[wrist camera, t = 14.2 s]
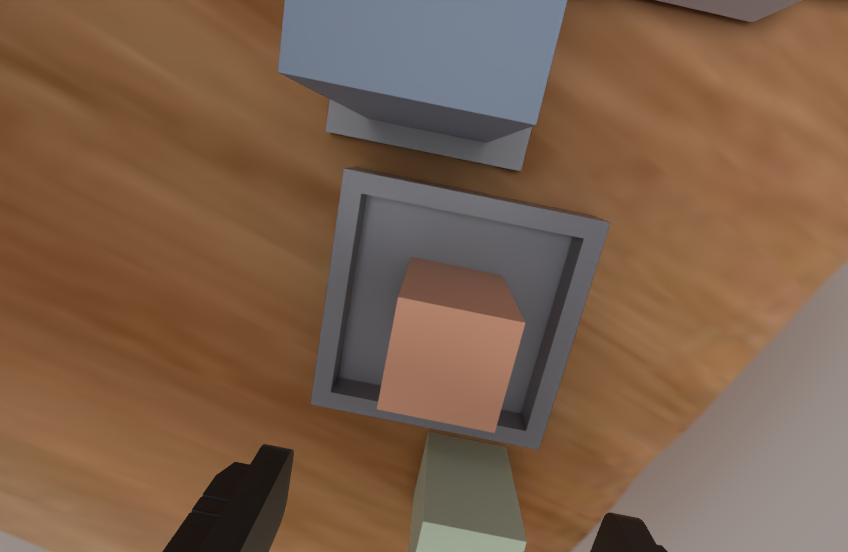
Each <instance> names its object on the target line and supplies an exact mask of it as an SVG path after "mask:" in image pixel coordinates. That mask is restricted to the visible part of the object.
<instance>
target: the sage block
mask: <svg viewBox="0 0 848 552" xmlns="http://www.w3.org/2000/svg"><path fill="white" fill-rule="evenodd" d="M526 543H527V540H526V536H525V531H524V526H523V522H522V517H521V512H520V508H519V503H518V498H517V494H516V489H515V484H514V480H513V475H512V470H511V466H510V461H509V456H508V452H507V447H504V446H499V445H494V444H489V443H484V442H479V441H474V440H469V439H464V438H459V437H454V436H449V435H444V434H439V433H434V432H429V431H428V436H427V440H426V444H425V449H424V453H423V457H422V462H421V466H420V470H419V475H418V479H417V483H416V488H415V492H414V497H413V507H412V518H411V529H410V540H409V551H408V552H524V549H525V546H526Z"/></svg>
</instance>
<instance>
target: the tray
mask: <svg viewBox="0 0 848 552" xmlns="http://www.w3.org/2000/svg"><path fill="white" fill-rule="evenodd" d="M609 225H610V222H608V221H605V220H603V219H600V218H597V217H595V216H591V215H586V214H582V213H577V212H572V211H567V210H562V209H557V208H552V207H547V206H542V205H537V204H532V203H527V202H522V201H518V200H513V199H508V198H503V197H498V196H493V195H488V194H483V193H478V192H473V191H468V190H463V189H459V188H454V187H449V186H444V185H439V184H434V183H429V182H424V181H419V180H414V179H409V178H404V177H399V176H395V175H390V174H385V173H380V172H375V171H370V170H365V169H360V168H355V167H353V168H344V172H343V179H342V186H341V193H340V200H339V207H338V214H337V221H336V228H335V235H334V242H333V250H332V257H331V264H330V271H329V278H328V285H327V292H326V299H325V306H324V313H323V320H322V327H321V334H320V341H319V348H318V355H317V362H316V370H315V377H314V384H313V391H312V398H311V405H316V406H321V407H326V408H331V409H336V410H341V411H346V412H351V413H356V414H361V415H366V416H371V417H376V418H381V419H386V420H391V421H396V422H401V423H406V424H411V425H417V426H422V427H427V428H432V429H437V430H442V431H447V432H452V433H457V434H462V435H467V436H472V437H477V438H482V439H487V440H492V441H497V442H502V443H507V444H512V445H517V446H522V447H527V448H532V449H537V450H539V448H540V445H541V442H542V439H543V435H544V432H545V429H546V426H547V423H548V420H549V416H550V413H551V410H552V407H553V404H554V400H555V397H556V394H557V391H558V388H559V385H560V381H561V378H562V375H563V372H564V369H565V365H566V362H567V359H568V356H569V353H570V350H571V346H572V343H573V340H574V337H575V334H576V330H577V327H578V324H579V321H580V318H581V315H582V311H583V308H584V305H585V302H586V299H587V295H588V292H589V289H590V286H591V283H592V280H593V276H594V273H595V270H596V267H597V264H598V260H599V257H600V254H601V251H602V248H603V245H604V241H605V238H606V235H607V232H608V229H609ZM411 257H414V258H419V259H424V260H429V261H434V262H439V263H444V264H449V265H454V266H459V267H464V268H468V269H473V270H478V271H483V272H488V273H493V274H498V275H502V276H503V278H504V280H505V282H506V284H507V286H508V288H509V290H510V292H511V294H512V296H513V298H514V300H515V303H516V305H517V307H518V309H519V311H520V313H521V315H522V317H523V319H524V321H525V326H524V330H523V334H522V337H521V341H520V344H519V348H518V351H517V355H516V359H515V362H514V366H513V369H512V373H511V376H510V380H509V384H508V387H507V391H506V394H505V398H504V401H503V405H502V408H501V412H500V416H499V419H498V423H497V426H496V430H495V433H492V432H487V431H482V430H477V429H472V428H467V427H462V426H457V425H452V424H447V423H442V422H437V421H433V420H428V419H423V418H418V417H413V416H408V415H403V414H398V413H393V412H388V411H383V410H378V409H377V405H378V400H379V394H380V389H381V384H382V379H383V373H384V368H385V363H386V358H387V353H388V347H389V342H390V337H391V332H392V326H393V321H394V316H395V311H396V306H397V300H398V296H399V293H400V290H401V287H402V284H403V281H404V278H405V275H406V272H407V269H408V266H409V263H410V260H411Z"/></svg>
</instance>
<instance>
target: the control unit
mask: <svg viewBox="0 0 848 552" xmlns="http://www.w3.org/2000/svg"><path fill="white" fill-rule="evenodd" d="M566 4H567V0H285V4H284V15H283V25H282V36H281V46H280V56H279V67H278V73H280V74H282V75H284V76H286V77H288V78H290V79H292V80H294V81H296V82H298V83H300V84H302V85H304V86H306V87H307V88H309V89H311V90H313V91H315V92H317V93H319V94H321V95H323V96H325V97H327V98H329V99H330V101H329V109H328V116H327V124H326V132H330V133H335V134H340V135H345V136H350V137H355V138H359V139H364V140H369V141H374V142H379V143H384V144H389V145H394V146H399V147H404V148H409V149H413V150H418V151H423V152H428V153H433V154H438V155H443V156H448V157H453V158H458V159H463V160H467V161H472V162H477V163H482V164H487V165H492V166H497V167H502V168H507V169H512V170H517V171H521V169H522V165H523V161H524V157H525V153H526V149H527V145H528V141H529V137H530V133H531V129H532V126H535V125H536V123H537V119H538V115H539V111H540V107H541V103H542V99H543V95H544V91H545V87H546V84H547V80H548V76H549V72H550V68H551V64H552V60H553V56H554V52H555V48H556V44H557V40H558V36H559V32H560V28H561V24H562V20H563V16H564V12H565V8H566Z"/></svg>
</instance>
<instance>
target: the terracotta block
mask: <svg viewBox="0 0 848 552" xmlns="http://www.w3.org/2000/svg"><path fill="white" fill-rule="evenodd" d="M524 326H525V321H524V319H523V317H522V315H521V313H520V311H519V309H518V307H517V305H516V303H515V300H514V298H513V296H512V294H511V292H510V290H509V288H508V286H507V284H506V282H505V280H504V278H503V276H502V275H498V274H493V273H488V272H483V271H478V270H473V269H468V268H464V267H459V266H454V265H449V264H444V263H439V262H434V261H429V260H424V259H419V258H414V257H411V260H410V263H409V266H408V269H407V272H406V275H405V278H404V281H403V284H402V287H401V290H400V293H399V296H398V300H397V306H396V311H395V316H394V321H393V326H392V332H391V337H390V342H389V347H388V353H387V358H386V363H385V368H384V373H383V379H382V384H381V389H380V394H379V400H378V405H377V409H378V410H383V411H388V412H393V413H398V414H403V415H408V416H413V417H418V418H423V419H428V420H433V421H437V422H442V423H447V424H452V425H457V426H462V427H467V428H472V429H477V430H482V431H487V432H492V433H495V430H496V426H497V423H498V419H499V416H500V412H501V408H502V405H503V401H504V398H505V394H506V391H507V387H508V384H509V380H510V376H511V373H512V369H513V366H514V362H515V359H516V355H517V351H518V348H519V344H520V341H521V337H522V334H523V330H524Z"/></svg>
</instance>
